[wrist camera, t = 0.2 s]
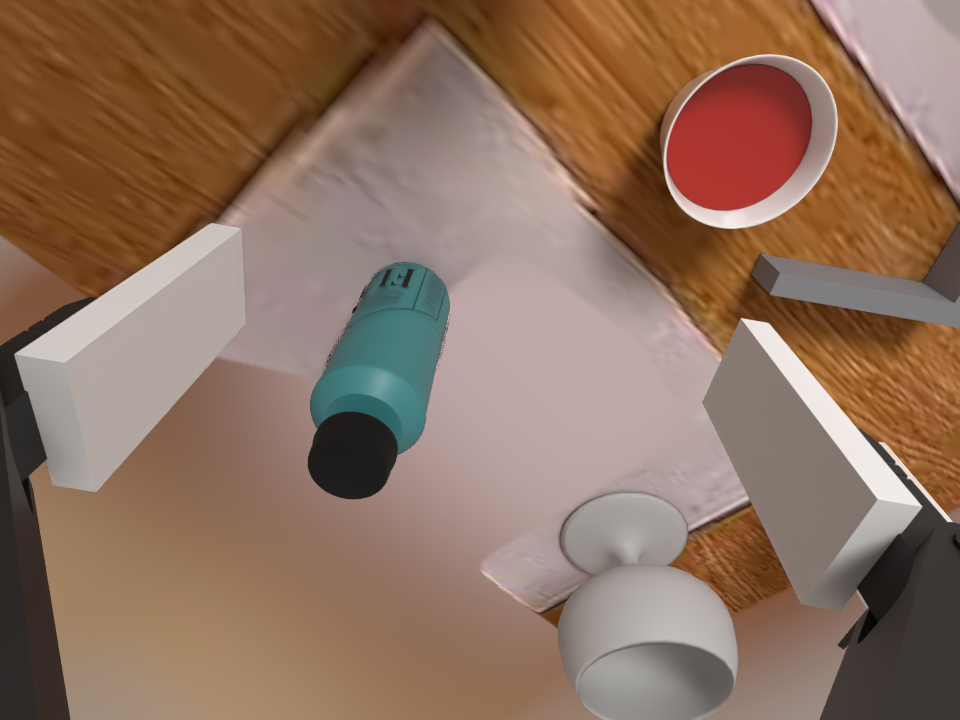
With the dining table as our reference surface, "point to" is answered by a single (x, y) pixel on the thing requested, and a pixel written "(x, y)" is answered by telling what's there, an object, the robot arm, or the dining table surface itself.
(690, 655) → the chalice
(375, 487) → the beverage bottle
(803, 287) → the corner fence
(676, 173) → the candle
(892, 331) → the dining table surface
